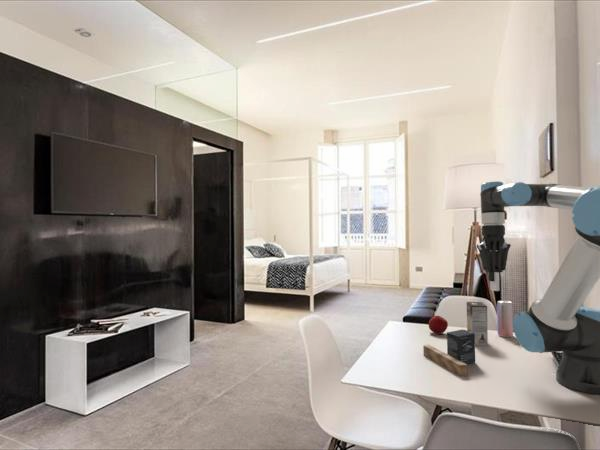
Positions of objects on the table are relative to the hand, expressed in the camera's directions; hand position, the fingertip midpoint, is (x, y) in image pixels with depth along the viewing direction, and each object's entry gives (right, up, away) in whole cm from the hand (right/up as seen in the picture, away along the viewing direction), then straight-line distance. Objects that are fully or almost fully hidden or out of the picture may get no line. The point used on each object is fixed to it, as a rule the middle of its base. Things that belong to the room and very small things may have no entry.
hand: (494, 290), depth 137 cm
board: (-20, -25, -4) cm, 32 cm away
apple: (-7, -26, +36) cm, 45 cm away
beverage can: (+20, -26, +31) cm, 45 cm away
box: (-13, -25, -2) cm, 29 cm away
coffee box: (+4, -26, +22) cm, 34 cm away
